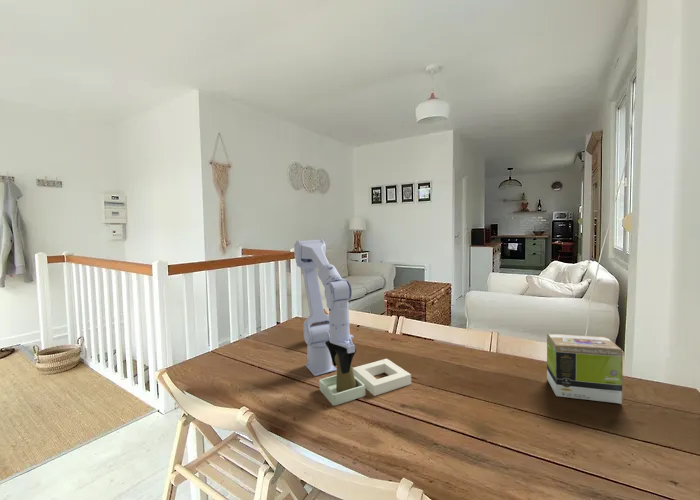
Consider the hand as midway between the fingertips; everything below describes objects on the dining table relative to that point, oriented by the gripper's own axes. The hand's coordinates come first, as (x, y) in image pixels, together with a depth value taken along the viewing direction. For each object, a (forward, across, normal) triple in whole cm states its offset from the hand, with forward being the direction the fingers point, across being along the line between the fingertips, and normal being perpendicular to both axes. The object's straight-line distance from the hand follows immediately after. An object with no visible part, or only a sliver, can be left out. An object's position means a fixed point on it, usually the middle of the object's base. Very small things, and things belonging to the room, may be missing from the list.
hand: (341, 368), depth 93 cm
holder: (+7, 0, -14) cm, 15 cm away
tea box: (+8, -34, -58) cm, 67 cm away
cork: (+7, 0, -1) cm, 7 cm away
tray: (+7, 0, 0) cm, 7 cm away
